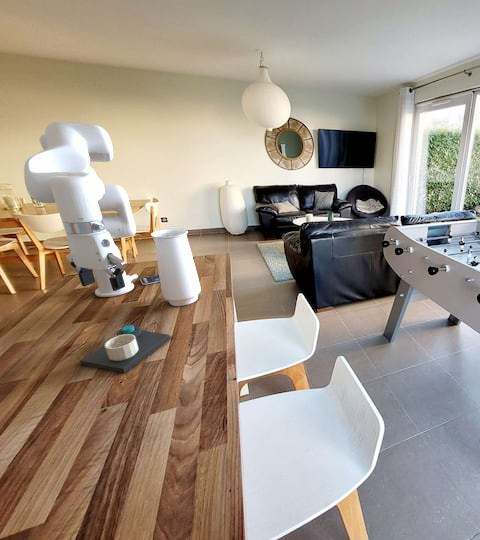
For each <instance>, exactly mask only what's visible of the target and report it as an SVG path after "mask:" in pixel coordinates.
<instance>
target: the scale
mask: <svg viewBox="0 0 480 540" xmlns="http://www.w3.org/2000/svg"><path fill="white" fill-rule="evenodd" d="M133 326H134V329H135V331H134V332H132V333H129V334H132V335H134V336H135V337H136V340H137V344H138V347H139V350H138V351H137V353H136V354H135V355H133V356H132V357H130V358H128V359H125V360H121V361H114V360H110V359H109V358H108V355H107V352H106V350H105V347H104V346H105V344H104V345H103V346H101V347H100V348H98V349H96V350H94V351H93V352H90V353H89V354H88V355H86V356H85V357H83V358H81V359H79V362H80V365H82V366H87V367H92V368H98V369H103V370H108V371H115V372H119V373H126V372H128V371H129V370H130V369H132V368H133V367H134V366H136V365H137V364H138V363H140V362H141V361H142V360H143V359H145V358H146V357H148V356H149V355H150V354H151V353H153V352H154V351H156V350H157V349H159V347H161V346H162V345H164V344H165V343H166V342H167V341H169V340H170V339H171V335H170V334H167V333H160V332H154V331H148V330H142V328H141V327H140V326H139V325H136V324H135V325H134V324H133ZM115 334H116V336H119V335H123V332H122V328H121V329H119V330H117V331H116V333H115Z"/></svg>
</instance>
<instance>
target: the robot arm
mask: <svg viewBox="0 0 480 540" xmlns="http://www.w3.org/2000/svg"><path fill="white" fill-rule="evenodd" d="M39 143H40V145H41V148H42V149H43V150H41V151H39V152H37V153H35V154H33V155H31V156H30V157H29V158H27V159H26V161H25V162H24V166H23V175H24V185H25V189H26V191H27V193H28V195H29V196H30V197H31V198H32V199H33V200H35V201H37V202H38V203H43V204H55V205H56V208H57V211H58V214H59V217H60V220H61V222H62V226H63V228H64V231H65V234H66V240H67V246H68V249H69V253H68V254H66V255H65V258H66V259H67V260H68V261H69V263H70V265H71V267H73V268H74V271H75V272H76V273H77V275H78V277H79V281H80V283H81V286H82V287H88V286H90V285H93V284H94V283H96V284H97V288H96V289H95V290H94V294H95V296H96V297H100V298H111V297H116V296H121V295H124V294H127V293H130V292H131V291H133V289H134V288H135V284H134V283H133V282H132V281H134V280H137V279H138V278H139V275H137V273H133V274H132V275H129V274H127V273H126V265H127V262H126V261H125V260H124V259H122V255H121V252H120V249H119V247H118V246H117V245H116V244H115V241H114V240H115V239H122V238H130V237H134V236H135V235H136V233H137V227H136V223H135V218H134V216H133V215H134V214H133V211H132V208H131V207H132V206H131V204H130V200H129V197H128V193H127V192H126V190H125V189H124V188H123V187H122V186H120V185H117V184H104V183H103V181H102V179H100V177H98V176H97V173H96V171H95V170H94V169H93V167H91V166H90V163H91V162H99V163H108V162H111V161H112V160H113V159H114V149H113V143H112V140H111V137H110V135H109V132H107V131H106V130H105V128H103V127H102V126H101V125H98V124H93V123H83V122H70V121H54V122H50V123H49V124H47V125H46V127H45V129H44V133H43V134H41V135H40V136H39ZM112 211H114V212H116V213H105V214H104V213H103V214H102V213H101V212H112Z"/></svg>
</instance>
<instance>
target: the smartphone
mask: <svg viewBox="0 0 480 540" xmlns="http://www.w3.org/2000/svg"><path fill="white" fill-rule="evenodd" d="M139 281H140V283H141V284H142V285H143V286H146V285H151V284H152V285H153V284H156V283H160V277H159V274H156V275H151V276H146V277H140V278H139Z"/></svg>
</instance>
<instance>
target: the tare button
mask: <svg viewBox="0 0 480 540" xmlns="http://www.w3.org/2000/svg"><path fill="white" fill-rule="evenodd" d="M121 329H122V332H123V334H129V333H132V332H134V331H135V329H134V324H127V325H124V326H123V327H122V328H121Z"/></svg>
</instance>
